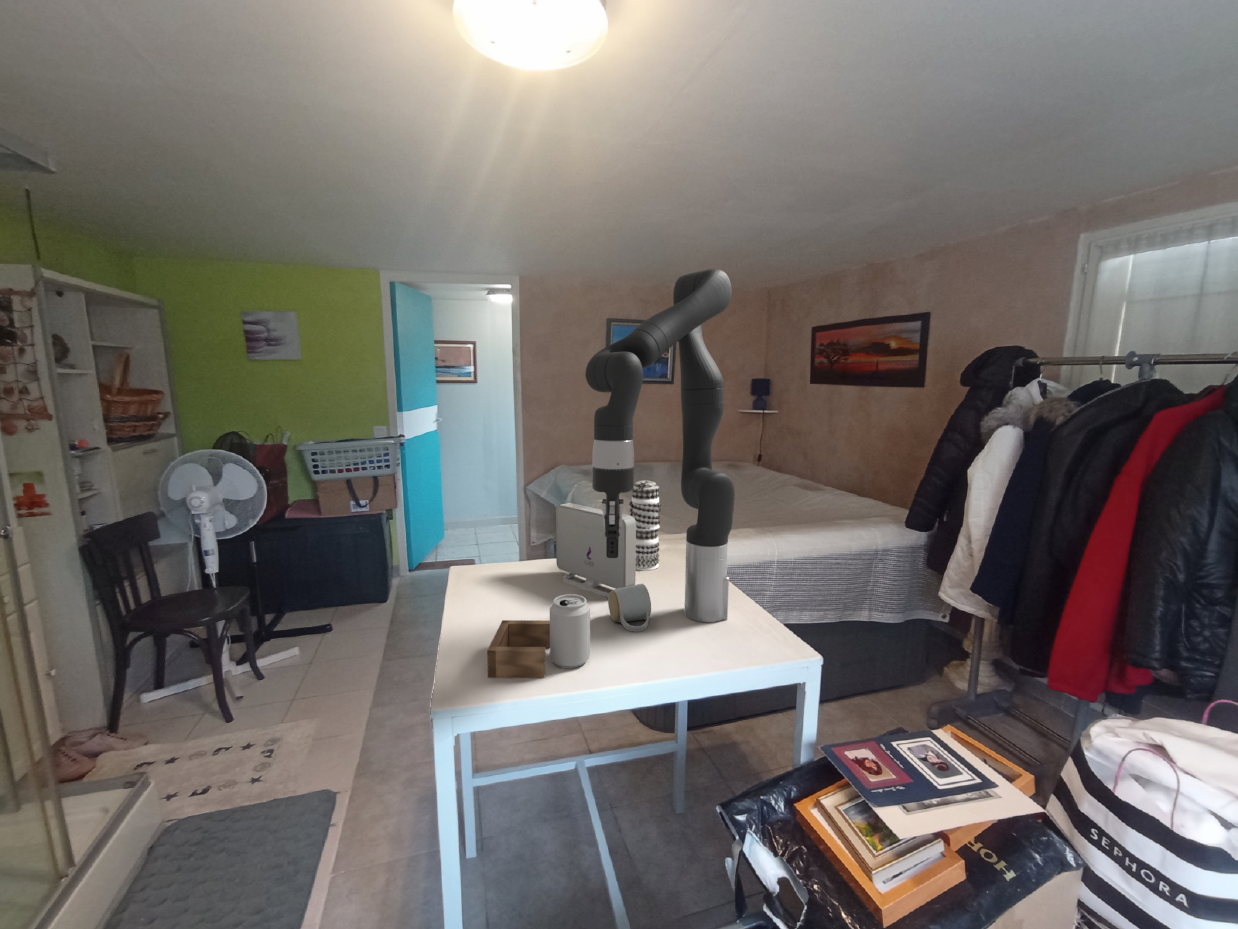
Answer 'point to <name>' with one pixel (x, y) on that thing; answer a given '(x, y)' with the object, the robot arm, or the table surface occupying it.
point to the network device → (593, 548)
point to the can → (569, 631)
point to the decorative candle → (646, 523)
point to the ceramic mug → (630, 605)
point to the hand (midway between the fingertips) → (612, 556)
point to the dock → (519, 649)
